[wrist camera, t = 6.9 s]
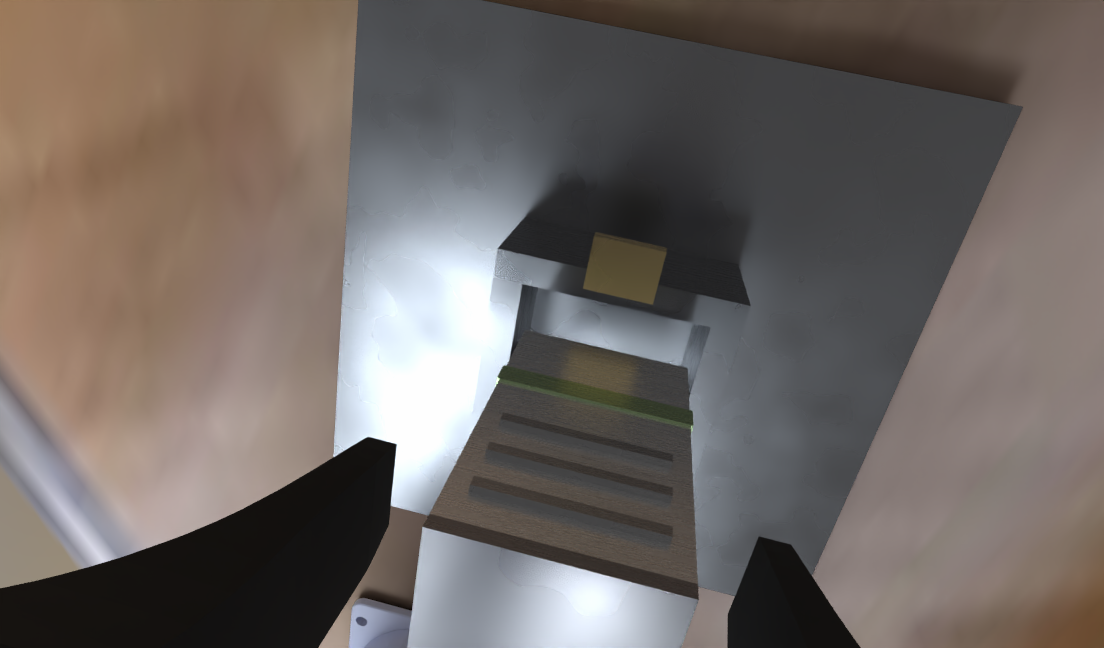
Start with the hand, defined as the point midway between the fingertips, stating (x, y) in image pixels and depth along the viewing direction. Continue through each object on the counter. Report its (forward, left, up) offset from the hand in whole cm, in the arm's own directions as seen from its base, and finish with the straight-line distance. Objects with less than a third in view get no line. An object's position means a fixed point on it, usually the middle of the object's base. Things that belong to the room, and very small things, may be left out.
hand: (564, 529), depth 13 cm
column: (0, 0, -4) cm, 4 cm away
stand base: (0, 0, -10) cm, 10 cm away
